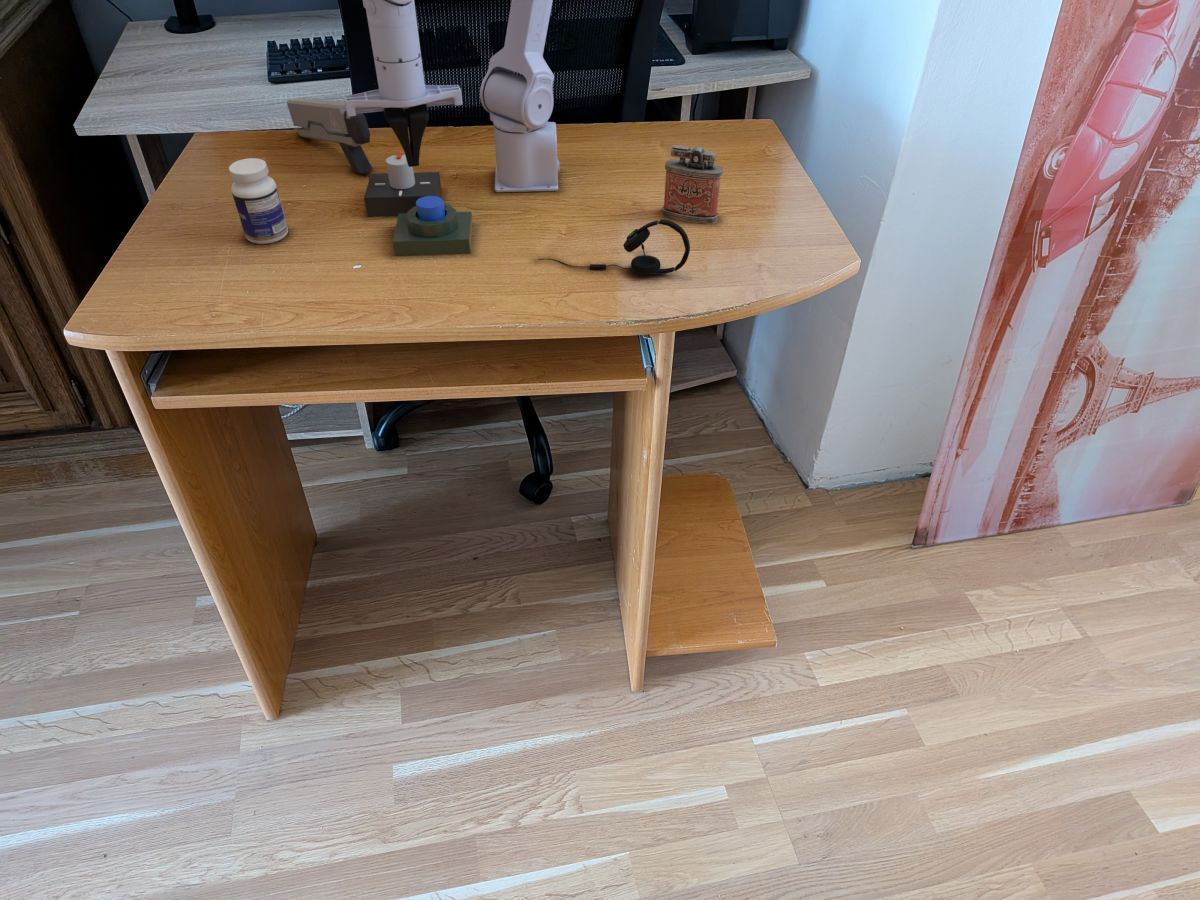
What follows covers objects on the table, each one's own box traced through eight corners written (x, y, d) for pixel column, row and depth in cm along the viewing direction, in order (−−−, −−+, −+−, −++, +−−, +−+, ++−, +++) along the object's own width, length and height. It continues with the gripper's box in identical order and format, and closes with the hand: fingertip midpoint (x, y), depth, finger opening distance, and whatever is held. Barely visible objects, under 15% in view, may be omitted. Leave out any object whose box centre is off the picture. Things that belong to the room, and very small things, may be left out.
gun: (370, 177, 126) (350, 107, 120) (304, 162, 143) (284, 100, 138) (385, 172, 127) (366, 103, 121) (317, 158, 144) (298, 96, 139)
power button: (445, 209, 113) (444, 195, 111) (444, 222, 110) (442, 207, 109) (419, 210, 113) (417, 196, 111) (416, 222, 110) (414, 208, 109)
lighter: (719, 215, 120) (727, 147, 113) (714, 225, 118) (721, 156, 111) (665, 206, 122) (670, 139, 115) (659, 216, 120) (663, 148, 113)
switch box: (472, 225, 117) (469, 199, 114) (470, 254, 111) (467, 226, 108) (400, 228, 116) (396, 201, 114) (394, 256, 111) (390, 228, 108)
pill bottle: (244, 229, 116) (223, 159, 109) (286, 222, 117) (268, 153, 111) (247, 248, 112) (225, 177, 105) (291, 241, 113) (272, 170, 107)
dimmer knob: (414, 189, 119) (410, 162, 116) (388, 189, 118) (384, 163, 116) (416, 178, 121) (412, 152, 119) (391, 178, 121) (386, 152, 119)
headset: (565, 281, 118) (701, 247, 110) (552, 305, 112) (693, 271, 104) (547, 237, 114) (686, 198, 106) (532, 259, 109) (677, 221, 101)
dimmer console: (441, 190, 125) (439, 170, 123) (438, 215, 119) (435, 194, 117) (374, 192, 125) (370, 172, 122) (367, 217, 119) (363, 196, 117)
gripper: (450, 41, 107) (461, 145, 116) (334, 50, 103) (354, 158, 112) (460, 58, 102) (471, 166, 111) (339, 69, 98) (360, 179, 107)
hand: (413, 163), depth 111 cm, fingers closed
